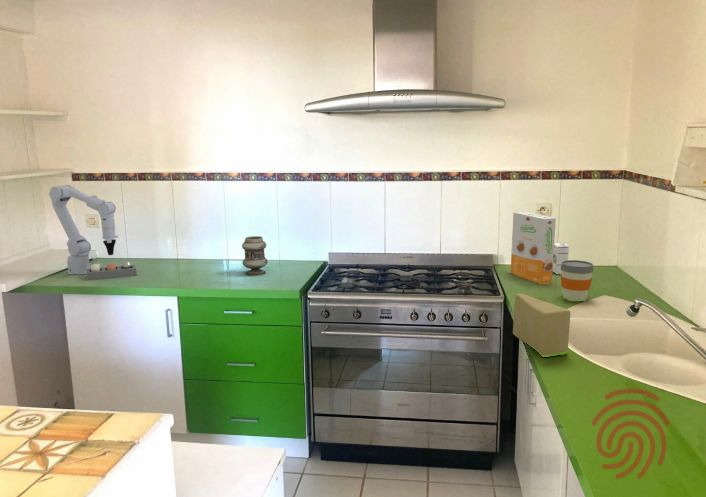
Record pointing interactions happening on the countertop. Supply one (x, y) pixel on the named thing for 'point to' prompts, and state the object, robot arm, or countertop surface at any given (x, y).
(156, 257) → the countertop surface
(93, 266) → the ivory plunger
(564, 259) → the syrup box
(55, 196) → the robot arm
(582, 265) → the reusable coffee cup
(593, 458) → the countertop surface
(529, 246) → the cereal box
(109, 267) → the brick-red plunger
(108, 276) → the button panel
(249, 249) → the apothecary jar
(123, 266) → the steel plunger
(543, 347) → the cheese
